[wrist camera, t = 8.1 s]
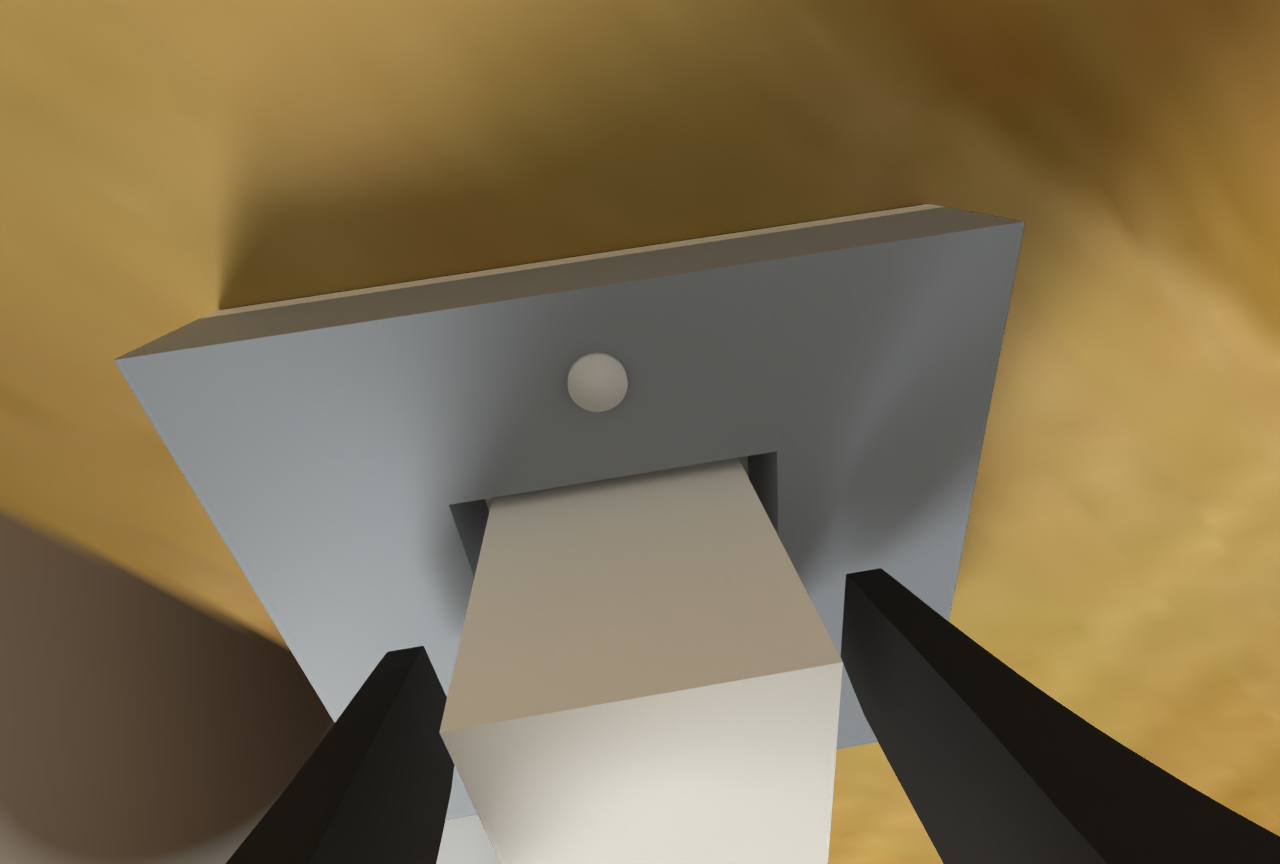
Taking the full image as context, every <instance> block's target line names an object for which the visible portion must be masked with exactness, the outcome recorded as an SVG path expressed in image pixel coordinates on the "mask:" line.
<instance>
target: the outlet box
mask: <svg viewBox="0 0 1280 864" xmlns="http://www.w3.org/2000/svg"><path fill="white" fill-rule="evenodd" d="M1024 225H1025V222H1024V221H1019V220H1013V219H1008V218H1003V217H997V216H992V215H986V214H981V213H976V212H970V211H965V210H959V209H954V208H948V207H943V206H938V205H932V204H925V205H918V206H911V207H905V208H898V209H891V210H885V211H878V212H871V213H865V214H858V215H851V216H845V217H838V218H831V219H825V220H818V221H811V222H805V223H798V224H791V225H785V226H778V227H771V228H765V229H758V230H751V231H745V232H738V233H731V234H725V235H718V236H711V237H705V238H698V239H691V240H685V241H678V242H671V243H664V244H658V245H651V246H644V247H638V248H631V249H624V250H618V251H611V252H604V253H598V254H591V255H584V256H578V257H571V258H564V259H558V260H551V261H544V262H538V263H531V264H524V265H518V266H511V267H504V268H498V269H491V270H484V271H478V272H471V273H464V274H458V275H451V276H444V277H438V278H431V279H424V280H418V281H411V282H404V283H398V284H391V285H384V286H378V287H371V288H364V289H358V290H351V291H344V292H338V293H331V294H324V295H318V296H311V297H304V298H298V299H291V300H284V301H278V302H271V303H264V304H258V305H251V306H244V307H238V308H231V309H224V310H217V311H214V312H212V313H210V314H208V315H206V316H204V317H202V318H200V319H198V320H196V321H194V322H191V323H189V324H187V325H185V326H183V327H181V328H179V329H177V330H175V331H173V332H171V333H169V334H167V335H164V336H162V337H160V338H158V339H156V340H154V341H152V342H150V343H148V344H146V345H144V346H142V347H140V348H137V349H135V350H133V351H131V352H129V353H127V354H125V355H123V356H121V357H119V358H117V359H115V360H114V362H115V364H116V365H117V367H118V369H119V370H120V372H121V374H122V375H123V377H124V378H125V380H126V382H127V383H128V385H129V387H130V388H131V390H132V392H133V393H134V395H135V396H136V398H137V400H138V401H139V403H140V405H141V406H142V408H143V410H144V411H145V413H146V414H147V416H148V418H149V419H150V421H151V423H152V424H153V426H154V428H155V429H156V431H157V432H158V434H159V436H160V437H161V439H162V441H163V442H164V444H165V446H166V447H167V449H168V450H169V452H170V454H171V455H172V457H173V459H174V460H175V462H176V464H177V465H178V467H179V468H180V470H181V472H182V473H183V475H184V477H185V478H186V480H187V482H188V483H189V485H190V486H191V488H192V490H193V491H194V493H195V495H196V496H197V498H198V500H199V501H200V503H201V504H202V506H203V508H204V509H205V511H206V513H207V514H208V516H209V518H210V519H211V521H212V522H213V524H214V526H215V527H216V529H217V531H218V532H219V534H220V536H221V537H222V539H223V540H224V542H225V544H226V545H227V547H228V549H229V550H230V552H231V554H232V555H233V557H234V558H235V560H236V562H237V563H238V565H239V567H240V568H241V570H242V572H243V573H244V575H245V576H246V578H247V580H248V581H249V583H250V585H251V586H252V588H253V590H254V591H255V593H256V594H257V596H258V598H259V599H260V601H261V603H262V604H263V606H264V608H265V609H266V611H267V612H268V614H269V616H270V617H271V619H272V621H273V622H274V624H275V626H276V627H277V629H278V630H279V632H280V634H281V635H282V637H283V639H284V640H285V642H286V644H287V645H288V647H289V648H290V650H291V652H292V653H293V655H294V657H295V658H296V660H297V662H298V663H299V665H300V667H301V668H302V670H303V671H304V673H305V674H306V676H307V678H308V680H309V681H310V683H311V685H312V686H313V688H314V689H315V691H316V693H317V694H318V696H319V698H320V699H321V701H322V703H323V704H324V706H325V707H326V709H327V711H328V712H329V714H330V716H331V717H332V719H333V720H334V722H336V721H337V719H338V718H339V717H340V715H341V714H342V713H343V711H344V710H345V708H346V707H347V706H348V704H349V703H350V702H351V700H352V699H353V697H354V696H355V695H356V693H357V692H358V690H359V689H360V688H361V686H362V685H363V684H364V682H365V681H366V680H367V678H368V677H369V675H370V674H371V673H372V671H373V670H374V669H375V667H376V666H377V665H378V663H379V662H380V661H381V659H382V658H383V657H384V655H385V654H386V653H387V652H389V651H395V650H401V649H407V648H413V647H419V646H424V648H425V650H426V652H427V654H428V656H429V659H430V661H431V663H432V665H433V668H434V670H435V672H436V674H437V677H438V679H439V681H440V683H441V686H442V688H443V690H444V692H445V695H446V697H447V696H448V692H449V687H450V683H451V678H452V674H453V670H454V665H455V661H456V656H457V652H458V648H459V643H460V639H461V634H462V630H463V626H464V621H465V617H466V612H467V608H468V604H469V599H470V595H471V591H472V586H473V582H474V577H475V573H476V569H477V564H478V560H479V555H480V551H481V547H482V542H483V538H484V533H485V529H486V525H487V520H488V516H489V511H490V507H491V503H492V498H494V497H500V496H506V495H512V494H519V493H525V492H531V491H537V490H543V489H549V488H555V487H561V486H568V485H574V484H580V483H586V482H592V481H598V480H604V479H610V478H616V477H623V476H629V475H635V474H641V473H647V472H653V471H659V470H665V469H672V468H678V467H684V466H690V465H696V464H702V463H708V462H714V461H721V460H727V459H733V458H738V459H739V461H740V463H741V464H742V466H743V468H744V470H745V472H746V474H747V476H748V478H749V480H750V482H751V484H752V486H753V488H754V490H755V492H756V494H757V496H758V498H759V500H760V502H761V503H762V505H763V507H764V509H765V511H766V513H767V515H768V517H769V519H770V521H771V523H772V525H773V527H774V529H775V531H776V533H777V535H778V537H779V539H780V541H781V542H782V544H783V546H784V548H785V550H786V552H787V554H788V556H789V558H790V560H791V562H792V564H793V566H794V568H795V570H796V572H797V574H798V576H799V578H800V580H801V582H802V583H803V585H804V587H805V589H806V591H807V593H808V595H809V597H810V599H811V601H812V603H813V605H814V607H815V609H816V611H817V613H818V615H819V617H820V619H821V621H822V622H823V624H824V626H825V628H826V630H827V632H828V634H829V636H830V638H831V640H832V642H833V644H834V646H835V648H836V650H837V652H838V654H839V656H840V658H841V641H842V626H843V611H844V596H845V581H846V574H849V573H855V572H861V571H867V570H872V569H878V568H881V569H883V570H884V571H885V572H887V573H888V574H889V575H891V576H892V577H893V578H894V579H896V580H897V581H898V582H899V583H901V584H902V585H903V586H904V587H906V588H907V589H908V590H910V591H911V592H912V593H913V594H915V595H916V596H917V597H918V598H920V599H921V600H922V601H923V602H925V603H926V604H927V605H928V606H930V607H931V608H932V609H933V610H935V611H936V612H937V613H938V614H940V615H941V616H942V617H944V618H945V619H946V620H947V621H949V617H950V611H951V606H952V601H953V596H954V590H955V585H956V580H957V575H958V570H959V564H960V559H961V554H962V549H963V543H964V538H965V533H966V528H967V522H968V517H969V512H970V507H971V502H972V496H973V491H974V486H975V481H976V475H977V470H978V465H979V460H980V455H981V449H982V444H983V439H984V434H985V428H986V423H987V418H988V413H989V408H990V402H991V397H992V392H993V387H994V381H995V376H996V371H997V366H998V361H999V355H1000V350H1001V345H1002V340H1003V334H1004V329H1005V324H1006V319H1007V314H1008V308H1009V303H1010V298H1011V293H1012V287H1013V282H1014V277H1015V272H1016V266H1017V261H1018V256H1019V251H1020V246H1021V240H1022V235H1023V230H1024ZM841 660H842V659H841ZM874 742H878V740H877V739H876V737H875V735H874V733H873V731H872V729H871V727H870V725H869V723H868V721H867V720H866V718H865V716H864V713H863V711H862V709H861V706H860V704H859V701H858V699H857V697H856V694H855V692H854V689H853V687H852V684H851V682H850V679H849V677H848V674H847V672H846V669H845V666H844V664H843V667H842V681H841V694H840V707H839V721H838V734H837V747H836V749H841V748H846V747H852V746H857V745H863V744H868V743H874ZM472 815H477V812H476V810H475V808H474V805H473V803H472V801H471V799H470V797H469V795H468V793H467V790H466V788H465V786H464V784H463V782H462V780H461V778H460V776H459V773H458V771H457V769H456V767H455V765H454V771H453V780H452V789H451V794H450V799H449V804H448V809H447V814H446V819H445V820H450V819H455V818H461V817H466V816H472Z"/></svg>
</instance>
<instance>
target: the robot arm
mask: <svg viewBox="0 0 1280 864" xmlns="http://www.w3.org/2000/svg"><path fill="white" fill-rule="evenodd" d="M841 659H842V661H843V664H844V666H845V669H846V672H847V674H848V677H849V679H850V682H851V684H852V687H853V689H854V692H855V694H856V697H857V699H858V701H859V704H860V706H861V709H862V711H863V713H864V716H865V718H866V720H867V721H868V723H869V725H870V727H871V729H872V731H873V733H874V735H875V737H876V739H877V740H878V742H879V744H880V746H881V748H882V750H883V752H884V754H885V755H886V757H887V759H888V761H889V763H890V765H891V767H892V769H893V770H894V772H895V774H896V776H897V778H898V780H899V782H900V783H901V785H902V787H903V789H904V791H905V793H906V795H907V796H908V798H909V800H910V802H911V804H912V806H913V807H914V809H915V811H916V813H917V815H918V817H919V819H920V820H921V822H922V824H923V826H924V828H925V830H926V832H927V833H928V835H929V837H930V839H931V841H932V843H933V845H934V846H935V848H936V850H937V852H938V854H939V856H940V858H941V859H942V861H943V863H944V864H1280V837H1279V836H1277V835H1276V834H1274V833H1272V832H1270V831H1268V830H1267V829H1265V828H1263V827H1261V826H1259V825H1257V824H1256V823H1254V822H1252V821H1250V820H1248V819H1247V818H1245V817H1243V816H1241V815H1239V814H1237V813H1236V812H1234V811H1232V810H1230V809H1229V808H1227V807H1225V806H1223V805H1222V804H1220V803H1218V802H1216V801H1215V800H1213V799H1211V798H1210V797H1208V796H1206V795H1204V794H1203V793H1201V792H1199V791H1197V790H1196V789H1194V788H1192V787H1191V786H1189V785H1187V784H1186V783H1184V782H1182V781H1181V780H1179V779H1177V778H1176V777H1174V776H1172V775H1171V774H1169V773H1168V772H1166V771H1164V770H1163V769H1161V768H1159V767H1158V766H1156V765H1155V764H1153V763H1151V762H1150V761H1148V760H1146V759H1145V758H1143V757H1141V756H1140V755H1138V754H1137V753H1135V752H1133V751H1132V750H1130V749H1128V748H1127V747H1125V746H1124V745H1122V744H1120V743H1119V742H1117V741H1116V740H1114V739H1113V738H1111V737H1109V736H1108V735H1106V734H1105V733H1103V732H1102V731H1100V730H1099V729H1097V728H1095V727H1094V726H1092V725H1091V724H1089V723H1088V722H1086V721H1085V720H1084V719H1082V718H1081V717H1079V716H1078V715H1076V714H1075V713H1073V712H1072V711H1070V710H1069V709H1067V708H1066V707H1065V706H1063V705H1062V704H1060V703H1059V702H1057V701H1056V700H1054V699H1053V698H1051V697H1050V696H1048V695H1047V694H1046V693H1044V692H1043V691H1041V690H1040V689H1038V688H1037V687H1036V686H1034V685H1033V684H1031V683H1030V682H1029V681H1027V680H1026V679H1024V678H1023V677H1022V676H1020V675H1019V674H1017V673H1016V672H1015V671H1013V670H1012V669H1011V668H1009V667H1008V666H1007V665H1005V664H1004V663H1003V662H1001V661H1000V660H999V659H997V658H996V657H995V656H993V655H992V654H991V653H989V652H988V651H987V650H985V649H984V648H983V647H981V646H980V645H978V644H977V643H976V642H975V641H973V640H972V639H971V638H969V637H968V636H967V635H965V634H964V633H963V632H961V631H960V630H959V629H958V628H956V627H955V626H954V625H952V624H951V623H950V622H949V621H947V620H946V619H945V618H944V617H942V616H941V615H940V614H938V613H937V612H936V611H935V610H933V609H932V608H931V607H930V606H928V605H927V604H926V603H925V602H923V601H922V600H921V599H920V598H918V597H917V596H916V595H915V594H913V593H912V592H911V591H910V590H908V589H907V588H906V587H904V586H903V585H902V584H901V583H899V582H898V581H897V580H896V579H894V578H893V577H892V576H891V575H889V574H888V573H887V572H885V571H884V570H883V569H881V568H878V569H872V570H867V571H861V572H855V573H849V574H846V581H845V596H844V611H843V626H842V641H841ZM446 700H447V697H446V695H445V692H444V690H443V688H442V686H441V683H440V681H439V679H438V677H437V674H436V672H435V670H434V668H433V665H432V663H431V661H430V659H429V656H428V654H427V652H426V650H425V648H424V646H419V647H413V648H407V649H401V650H395V651H389V652H387V653H386V654H385V655H384V657H383V658H382V659H381V661H380V662H379V663H378V665H377V666H376V667H375V669H374V670H373V671H372V673H371V674H370V675H369V677H368V678H367V680H366V681H365V682H364V684H363V685H362V686H361V688H360V689H359V690H358V692H357V693H356V695H355V696H354V697H353V699H352V700H351V702H350V703H349V704H348V706H347V707H346V708H345V710H344V711H343V713H342V714H341V715H340V717H339V718H338V719H337V721H336V722H335V724H334V725H333V726H332V728H331V729H330V730H329V732H328V733H327V734H326V736H325V737H324V738H323V740H322V741H321V743H320V744H319V745H318V747H317V748H316V749H315V751H314V752H313V753H312V755H311V756H310V757H309V758H308V760H307V761H306V762H305V764H304V765H303V767H302V768H301V769H300V770H299V772H298V773H297V774H296V776H295V777H294V778H293V780H292V781H291V783H290V784H289V785H288V786H287V788H286V789H285V790H284V792H283V793H282V794H281V795H280V797H279V798H278V799H277V801H276V802H275V803H274V804H273V806H272V807H271V808H270V809H269V811H268V812H267V813H266V814H265V816H264V817H263V818H262V819H261V821H260V822H259V823H258V824H257V826H256V827H255V828H254V829H253V830H252V832H251V833H250V834H249V835H248V837H247V838H246V839H245V840H244V842H243V843H242V844H241V845H240V847H239V848H238V849H237V850H236V852H235V853H234V854H233V855H232V857H231V858H230V859H229V860H228V862H227V863H226V864H436V861H437V856H438V852H439V847H440V842H441V838H442V833H443V828H444V823H445V819H446V814H447V809H448V804H449V799H450V794H451V789H452V780H453V771H454V763H453V761H452V758H451V756H450V754H449V752H448V750H447V748H446V746H445V744H444V741H443V739H442V737H441V735H440V733H439V731H440V727H441V722H442V718H443V714H444V709H445V705H446Z"/></svg>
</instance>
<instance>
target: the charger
mask: <svg viewBox="0 0 1280 864" xmlns="http://www.w3.org/2000/svg"><path fill="white" fill-rule="evenodd" d="M842 667H843V661H842V660H841V658H840V656H839V654H838V652H837V650H836V648H835V646H834V644H833V642H832V640H831V638H830V636H829V634H828V632H827V630H826V628H825V626H824V624H823V622H822V621H821V619H820V617H819V615H818V613H817V611H816V609H815V607H814V605H813V603H812V601H811V599H810V597H809V595H808V593H807V591H806V589H805V587H804V585H803V583H802V582H801V580H800V578H799V576H798V574H797V572H796V570H795V568H794V566H793V564H792V562H791V560H790V558H789V556H788V554H787V552H786V550H785V548H784V546H783V544H782V542H781V541H780V539H779V537H778V535H777V533H776V531H775V529H774V527H773V525H772V523H771V521H770V519H769V517H768V515H767V513H766V511H765V509H764V507H763V505H762V503H761V502H760V500H759V498H758V496H757V494H756V492H755V490H754V488H753V486H752V484H751V482H750V480H749V478H748V476H747V474H746V472H745V470H744V468H743V466H742V464H741V463H740V461H739V459H738V458H733V459H727V460H721V461H714V462H708V463H702V464H696V465H690V466H684V467H678V468H672V469H665V470H659V471H653V472H647V473H641V474H635V475H629V476H623V477H616V478H610V479H604V480H598V481H592V482H586V483H580V484H574V485H568V486H561V487H555V488H549V489H543V490H537V491H531V492H525V493H519V494H512V495H506V496H500V497H494V498H492V503H491V507H490V511H489V516H488V520H487V525H486V529H485V533H484V538H483V542H482V547H481V551H480V555H479V560H478V564H477V569H476V573H475V577H474V582H473V586H472V591H471V595H470V599H469V604H468V608H467V612H466V617H465V621H464V626H463V630H462V634H461V639H460V643H459V648H458V652H457V656H456V661H455V665H454V670H453V674H452V678H451V683H450V687H449V692H448V696H447V700H446V705H445V709H444V714H443V718H442V722H441V727H440V731H439V733H440V735H441V737H442V739H443V741H444V744H445V746H446V748H447V750H448V752H449V754H450V756H451V758H452V761H453V763H454V765H455V767H456V769H457V771H458V773H459V776H460V778H461V780H462V782H463V784H464V786H465V788H466V790H467V793H468V795H469V797H470V799H471V801H472V803H473V805H474V808H475V810H476V812H477V814H478V816H479V818H480V820H481V822H482V825H483V827H484V829H485V831H486V833H487V835H488V837H489V839H490V841H491V844H492V846H493V848H494V850H495V852H496V854H497V857H498V859H499V861H500V863H501V864H828V854H829V841H830V828H831V814H832V801H833V788H834V774H835V761H836V747H837V734H838V721H839V707H840V694H841V681H842Z"/></svg>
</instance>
